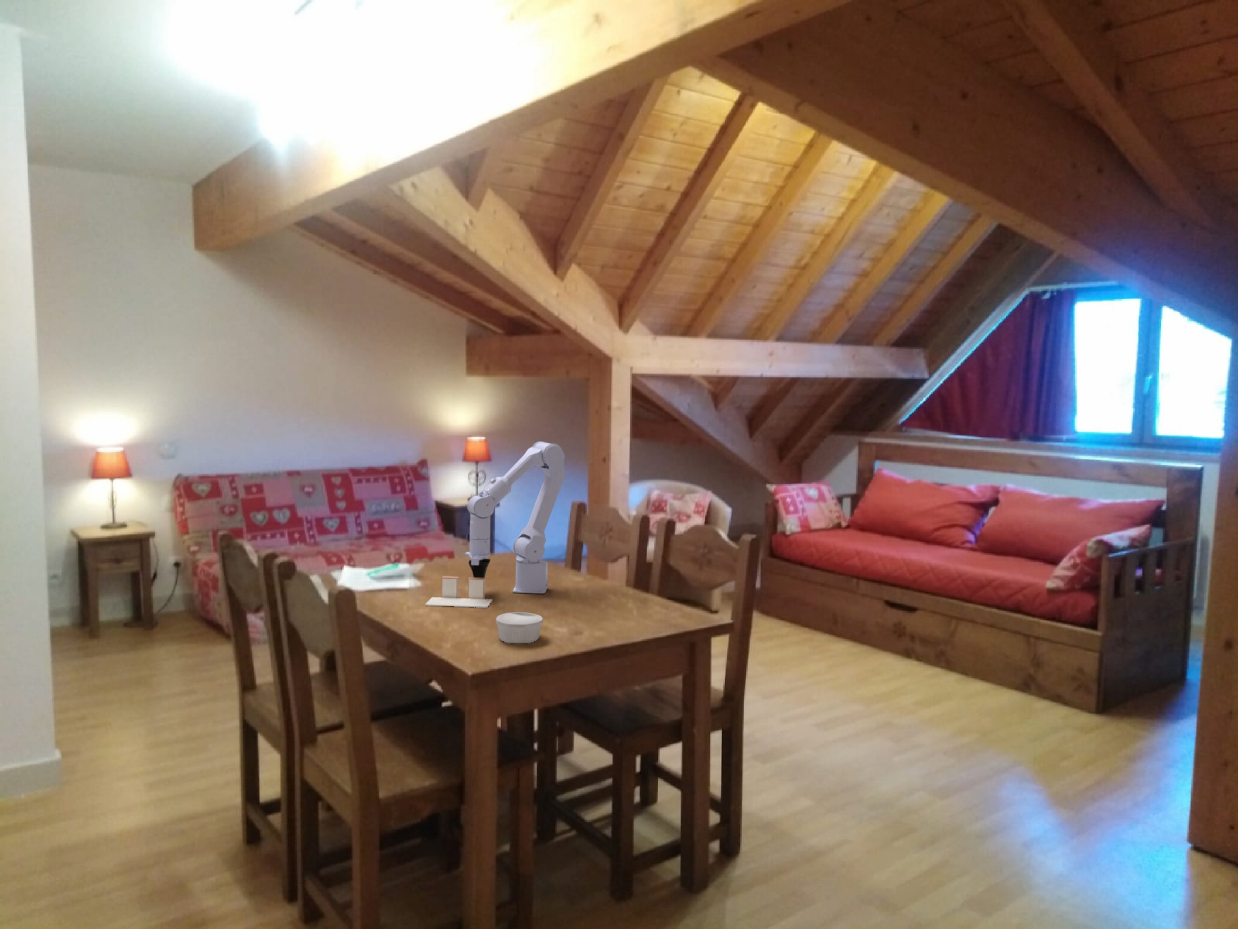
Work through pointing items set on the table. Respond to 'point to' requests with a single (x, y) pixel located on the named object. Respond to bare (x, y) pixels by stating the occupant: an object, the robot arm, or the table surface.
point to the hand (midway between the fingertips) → (479, 584)
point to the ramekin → (519, 627)
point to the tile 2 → (476, 588)
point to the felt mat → (459, 602)
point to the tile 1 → (450, 587)
